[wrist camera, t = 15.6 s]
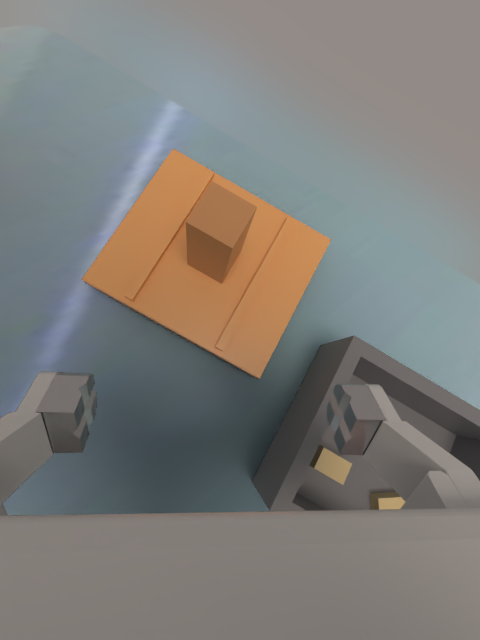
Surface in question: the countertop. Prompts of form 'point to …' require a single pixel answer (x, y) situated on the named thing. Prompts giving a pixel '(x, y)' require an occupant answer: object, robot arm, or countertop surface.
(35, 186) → the countertop surface
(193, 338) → the lid
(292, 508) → the tub
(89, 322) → the countertop surface
